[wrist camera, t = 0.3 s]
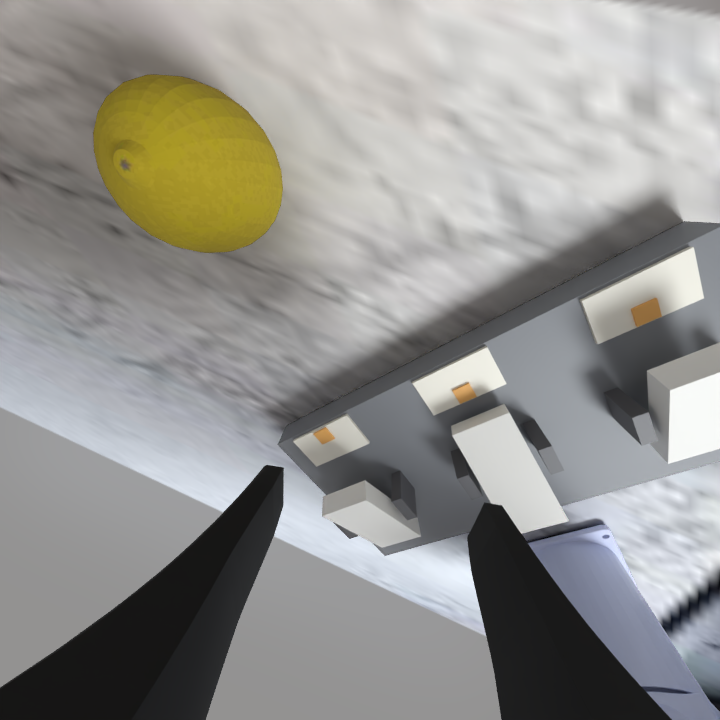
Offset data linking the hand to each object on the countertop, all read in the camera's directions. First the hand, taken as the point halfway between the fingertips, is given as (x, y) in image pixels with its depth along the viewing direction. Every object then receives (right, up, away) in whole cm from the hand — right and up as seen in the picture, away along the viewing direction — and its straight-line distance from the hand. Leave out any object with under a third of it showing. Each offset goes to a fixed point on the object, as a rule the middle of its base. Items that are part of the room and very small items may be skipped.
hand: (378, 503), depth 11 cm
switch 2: (+15, +3, +3) cm, 16 cm away
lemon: (-6, +14, +4) cm, 16 cm away
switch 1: (0, -5, +9) cm, 11 cm away
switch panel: (+8, +1, +10) cm, 13 cm away
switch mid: (+8, -1, +6) cm, 10 cm away
